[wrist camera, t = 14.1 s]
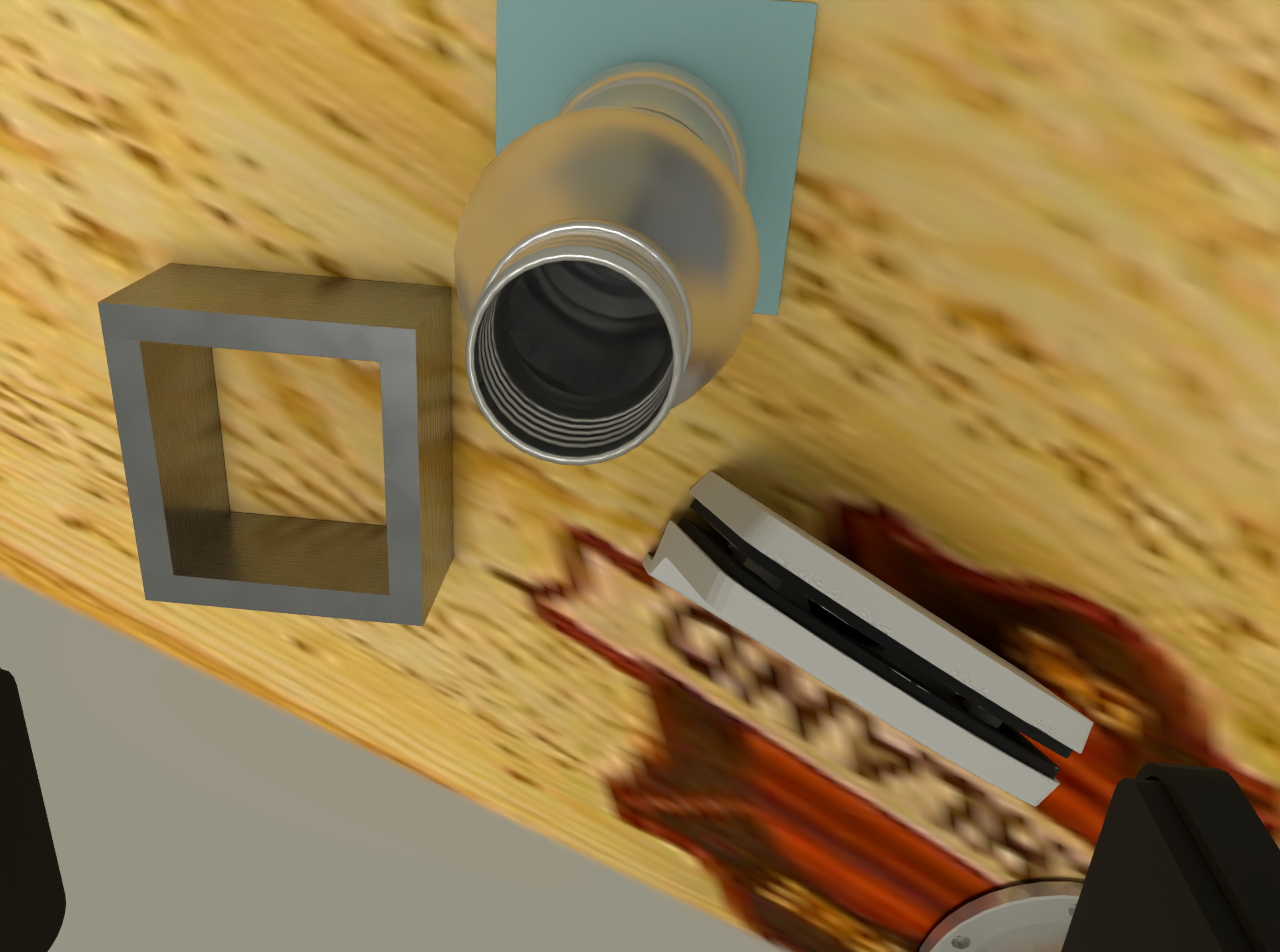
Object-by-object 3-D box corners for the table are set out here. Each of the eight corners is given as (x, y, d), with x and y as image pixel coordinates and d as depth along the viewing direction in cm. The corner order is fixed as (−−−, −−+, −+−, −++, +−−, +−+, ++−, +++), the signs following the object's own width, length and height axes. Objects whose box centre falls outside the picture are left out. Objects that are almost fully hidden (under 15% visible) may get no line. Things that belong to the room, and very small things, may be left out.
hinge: (633, 558, 43) (672, 633, 33) (697, 460, 43) (755, 507, 33) (951, 753, 46) (1072, 874, 36) (1013, 664, 46) (1152, 762, 36)
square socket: (453, 557, 43) (423, 626, 39) (204, 534, 44) (145, 599, 39) (450, 287, 38) (415, 329, 34) (169, 263, 39) (98, 302, 34)
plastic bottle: (527, 225, 36) (336, 477, 18) (586, 23, 33) (431, 84, 15) (703, 288, 37) (687, 594, 19) (777, 94, 34) (842, 235, 16)
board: (775, 307, 38) (777, 315, 37) (499, 283, 38) (494, 291, 37) (814, 3, 34) (817, 3, 33) (503, -22, 34) (497, -21, 33)
